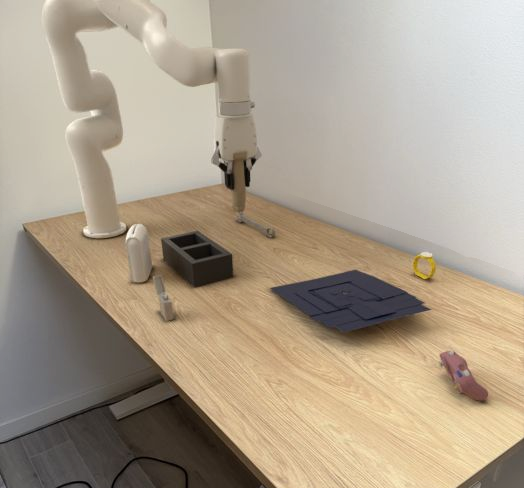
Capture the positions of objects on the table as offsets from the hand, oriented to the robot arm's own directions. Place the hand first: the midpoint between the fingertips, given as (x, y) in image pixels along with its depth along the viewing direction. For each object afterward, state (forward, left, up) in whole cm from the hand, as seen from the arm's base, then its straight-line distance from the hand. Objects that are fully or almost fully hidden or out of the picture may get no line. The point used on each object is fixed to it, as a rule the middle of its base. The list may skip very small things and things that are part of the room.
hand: (237, 186), depth 131 cm
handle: (0, 0, -6) cm, 6 cm away
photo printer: (0, -28, -18) cm, 33 cm away
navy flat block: (+41, +4, -18) cm, 45 cm away
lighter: (+22, -31, -18) cm, 42 cm away
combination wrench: (-13, +12, -18) cm, 25 cm away
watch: (+39, +29, -18) cm, 52 cm away
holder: (+4, -15, -17) cm, 23 cm away
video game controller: (+74, +2, -18) cm, 76 cm away
